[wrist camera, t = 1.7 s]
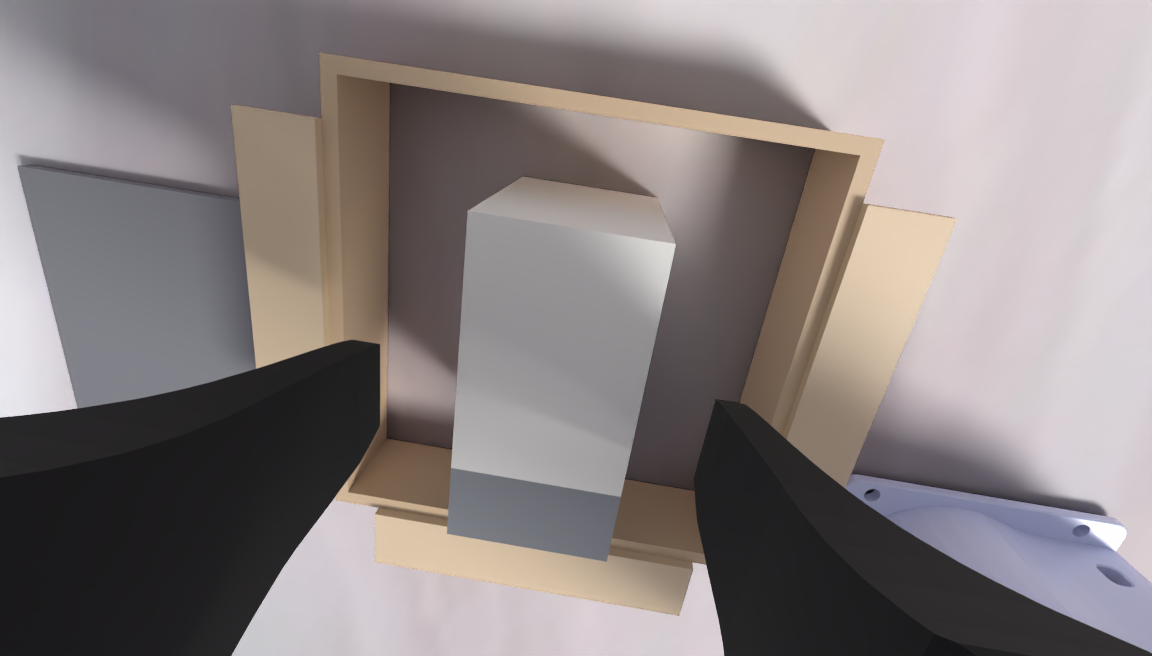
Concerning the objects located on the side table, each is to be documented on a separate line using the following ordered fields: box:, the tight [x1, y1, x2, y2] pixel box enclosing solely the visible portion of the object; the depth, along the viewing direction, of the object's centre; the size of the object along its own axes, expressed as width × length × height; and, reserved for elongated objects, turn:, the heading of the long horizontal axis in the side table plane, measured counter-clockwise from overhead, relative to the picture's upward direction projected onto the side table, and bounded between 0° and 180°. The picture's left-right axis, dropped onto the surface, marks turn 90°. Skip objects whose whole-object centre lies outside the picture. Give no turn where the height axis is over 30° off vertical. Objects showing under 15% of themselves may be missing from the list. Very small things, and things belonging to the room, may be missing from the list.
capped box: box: [447, 176, 676, 562], centre depth 14 cm, size 4×8×6 cm, turn 172°
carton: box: [230, 52, 957, 616], centre depth 16 cm, size 17×15×3 cm
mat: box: [18, 165, 256, 408], centre depth 19 cm, size 9×11×1 cm
